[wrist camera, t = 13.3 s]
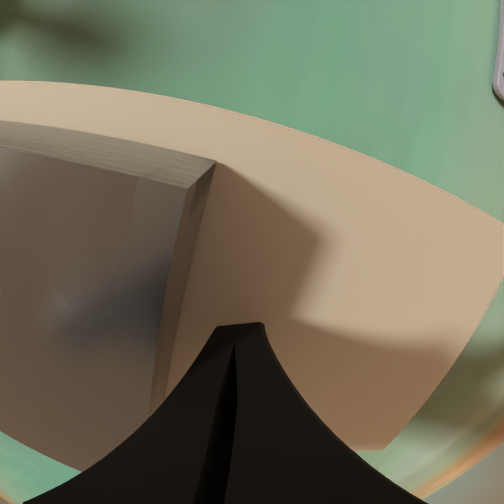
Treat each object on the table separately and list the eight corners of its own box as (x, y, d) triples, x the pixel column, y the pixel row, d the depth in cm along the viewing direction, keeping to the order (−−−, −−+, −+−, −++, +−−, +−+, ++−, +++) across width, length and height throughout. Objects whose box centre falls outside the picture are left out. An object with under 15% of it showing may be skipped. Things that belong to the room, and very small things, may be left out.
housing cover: (-29, 117, 7) (-111, 132, 3) (217, 160, 8) (187, 189, 4) (-17, 336, 10) (-61, 387, 6) (162, 410, 11) (142, 491, 7)
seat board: (20, 83, 8) (-19, 81, 6) (486, 216, 11) (521, 235, 8) (14, 328, 13) (-10, 354, 11) (371, 417, 15) (383, 449, 13)
